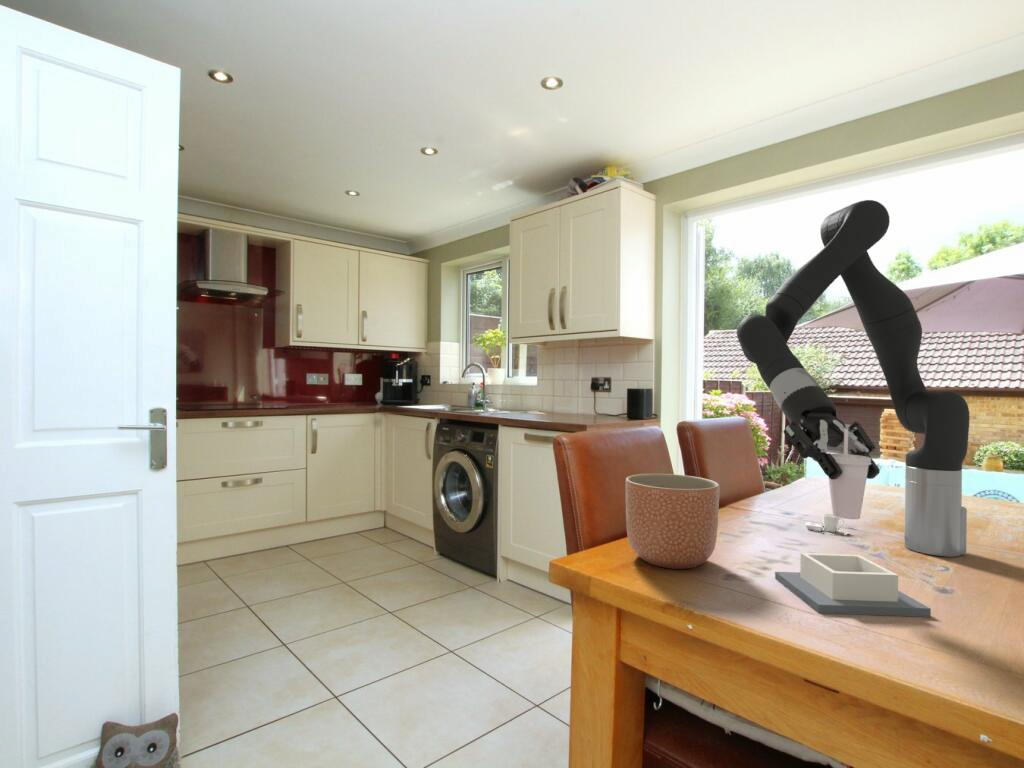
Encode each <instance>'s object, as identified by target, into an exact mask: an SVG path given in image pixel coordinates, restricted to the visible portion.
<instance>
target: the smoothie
mask: <svg viewBox="0 0 1024 768" xmlns="http://www.w3.org/2000/svg"><path fill="white" fill-rule="evenodd" d="M843 445H844V453H842V452H839V453H830V454H831V455H832V457H833V458H834V460H835V461H836V463H837V464H838V465H839V467H840V468H841V470H842V474H841V475H840V476H839V477H838V478H837V479H830V478H829V477H828V476H827V477H828V478H827V479H828V486H829V493H830V494H829V495H830V502H831V504H830V505H831V510H832V511H831V512H832V515H833V516H836V517H838V518H842V519H843V520H844V519H845V520H860V519H861V515H862V514H861V513H862V508H863V504H864V503H863V502H864V497H865V492H866V491H865V490H866V484H867V483H866V482H867V480H868V478H867V473H868V467H869V465H871V458H872V457H871V456H870V457H871V458H870V457H866V456H860V455H851V454H848V429H844V441H843Z"/></svg>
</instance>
